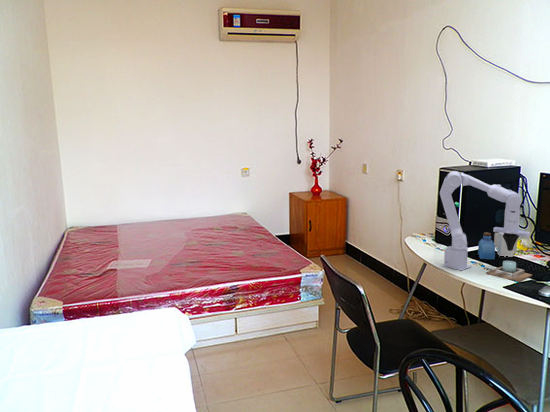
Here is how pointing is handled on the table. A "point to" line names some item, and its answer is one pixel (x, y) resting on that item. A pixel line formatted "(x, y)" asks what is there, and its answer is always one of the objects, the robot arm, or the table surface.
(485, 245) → the perfume bottle
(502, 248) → the skincare box
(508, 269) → the light blue cup
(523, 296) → the table surface
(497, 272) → the collar board
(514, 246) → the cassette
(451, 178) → the robot arm
